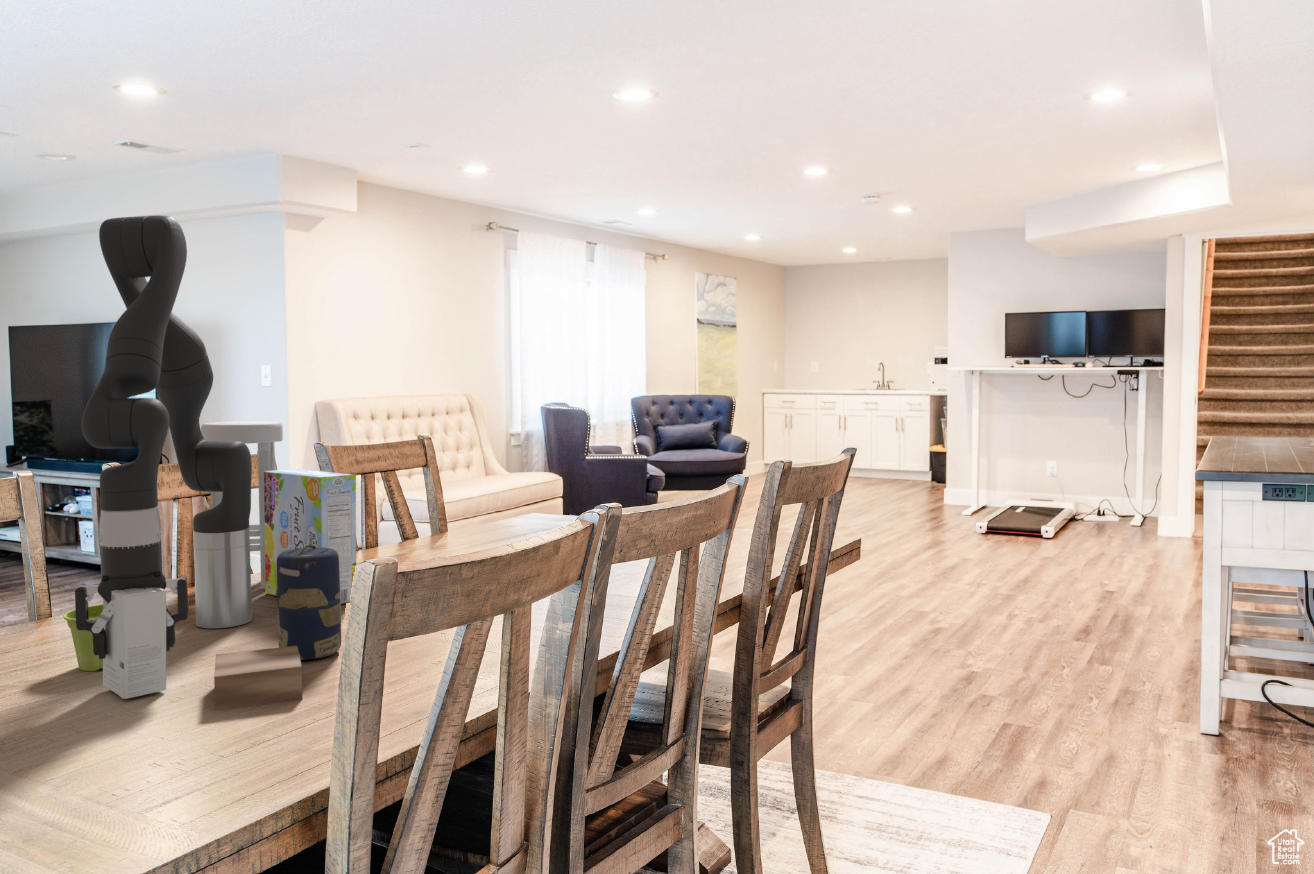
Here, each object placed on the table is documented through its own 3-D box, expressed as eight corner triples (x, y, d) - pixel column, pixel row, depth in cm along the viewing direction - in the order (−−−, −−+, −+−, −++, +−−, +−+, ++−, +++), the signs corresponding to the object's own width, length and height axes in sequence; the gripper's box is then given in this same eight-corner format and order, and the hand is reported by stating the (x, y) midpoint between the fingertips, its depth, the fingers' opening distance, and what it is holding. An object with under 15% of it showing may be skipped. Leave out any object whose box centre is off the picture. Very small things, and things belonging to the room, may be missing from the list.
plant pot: (104, 677, 138) (102, 620, 138) (50, 673, 140) (48, 616, 140) (150, 658, 148) (148, 605, 147) (99, 655, 150) (97, 601, 149)
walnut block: (216, 688, 135) (215, 654, 135) (297, 678, 139) (297, 645, 139) (215, 713, 125) (214, 676, 125) (302, 701, 129) (301, 666, 129)
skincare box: (102, 687, 133) (97, 585, 131) (147, 676, 137) (143, 577, 136) (125, 701, 127) (120, 594, 126) (171, 689, 132) (167, 586, 131)
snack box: (361, 601, 185) (358, 473, 184) (321, 610, 178) (319, 477, 177) (301, 586, 199) (298, 466, 197) (262, 593, 192) (259, 470, 190)
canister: (354, 649, 153) (352, 541, 152) (315, 666, 144) (312, 551, 143) (306, 644, 156) (304, 538, 155) (265, 660, 147) (262, 547, 146)
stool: (281, 590, 195) (278, 424, 193) (200, 595, 190) (195, 424, 188) (288, 575, 210) (284, 420, 207) (213, 579, 205) (208, 421, 203)
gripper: (189, 532, 137) (192, 641, 138) (75, 539, 131) (80, 652, 132) (186, 540, 130) (190, 655, 131) (66, 548, 124) (72, 668, 125)
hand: (135, 653), depth 132 cm, fingers closed on skincare box, 7 cm apart
